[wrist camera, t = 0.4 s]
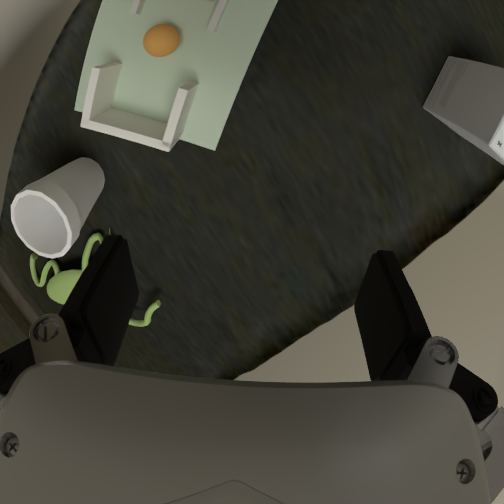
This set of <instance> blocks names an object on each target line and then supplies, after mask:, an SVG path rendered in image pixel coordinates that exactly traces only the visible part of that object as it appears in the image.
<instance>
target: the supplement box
mask: <svg viewBox="0 0 504 504" xmlns="http://www.w3.org/2000/svg"><path fill="white" fill-rule="evenodd" d="M423 108H424V109H425V110H427V111H428V112H429V113H431V114H432V115H434V116H435V117H436V118H438V119H439V120H440V121H442V122H443V123H444V124H446V125H447V126H448V127H450V128H451V129H452V130H454V131H455V132H456V133H457V134H459V135H460V136H462V137H463V138H465V139H466V140H468V141H469V142H471V143H472V144H474V145H475V146H477V147H478V148H480V149H481V150H483V151H484V152H486V153H487V154H489V155H490V156H491V157H493V158H494V159H496V160H497V161H498V162H500V163H501V164H502V165H504V68H501V67H497V66H493V65H489V64H485V63H481V62H477V61H472V60H468V59H463V58H458V57H453V56H448V58H447V60H446V62H445V64H444V66H443V68H442V70H441V72H440V74H439V76H438V78H437V80H436V82H435V84H434V86H433V88H432V90H431V92H430V93H429V95H428V97H427V99H426V101H425V103H424V105H423Z"/></svg>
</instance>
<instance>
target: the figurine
mask: <svg viewBox="0 0 504 504" xmlns="http://www.w3.org/2000/svg"><path fill="white" fill-rule="evenodd" d="M109 235H111V230H110V229H109ZM96 240H99V241H100V244H101V243H102V241H103V237H102V235H101V234H100V233H94V234H93V235H92V236H91V237H90V238H89V240H88V242H87V244H86V247H85V250H84V253H83V257H82V270H77V269H74V270H67V271H62V272H60V269H59V266H58V264H57V262H56V261H55V260H52V259H51V260H50V261H48V262H47V263H46V265H45V266H44V268H43V271H42V275H41V281H39V279H38V276H37V273H36V267H35V259H37V257H38V256H37V254H36V253H32V254H31V256H30V268H31V274H32V278H33V280H34V282H35V284H36V285H37V286H39V287H42V286H43V285H44V284H45V281H46V277H47V273H48V271H49V269H50V267H51V266H52V267H53V269H54V272H55V275H54V276H53V277H52V278H51V279H50V280H49V283H48V285H47V293H48V295H49V297H50V298H51V299H53V300H54V301H56V302H58V303H61V304H65V302H66V300H67V298H68V297H69V295H70V293H71V291H72V290H73V288H74V286H75V284H76V283H77V281H78V279H79V277H80V276H81V274H82V272H83V271H84V269H85V268H86V267H87V265H88V260H89V256H90V252H91V249H92V246H93V244H94V242H95V241H96ZM160 306H161V303H160V301H159V300H157V301H155V302H154V303H153V304H151V305H150V306H149V308H148V309H147V311H146V314H145V319H144V320H134V319H132V318H130V321H129V324H130V325H133V326H146V325H148V324H149V323H150V321H151V316H152V313H153V312H154V311H155V310H156V309H157V308H158V307H160Z"/></svg>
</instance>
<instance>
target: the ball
mask: <svg viewBox="0 0 504 504" xmlns="http://www.w3.org/2000/svg"><path fill="white" fill-rule="evenodd" d="M179 41H180V37H179V33H178V31H177V30H176V29H175V28H174V27H173V26H171V25H168V24H158V25H155V26H153V27H151V28H150V29H149V30H148V31H147V32H146V34H145V35H144V38H143V46H144V48H145V50H146V51H147V53H149V54H150V55H152V56H155V57H164V56H167V55H170V54H171V53H173V52H174V51H175V50H176V48H177V47H178V45H179Z"/></svg>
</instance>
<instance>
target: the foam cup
mask: <svg viewBox="0 0 504 504" xmlns="http://www.w3.org/2000/svg"><path fill="white" fill-rule="evenodd" d="M104 182H105V177H104V173H103V170H102V169H101V167H100V166H99V164H98V163H97V162H95V161H94V160H92V159H91V158H85V157H81V158H79V159H76V160H74V161H72V162H70V163H68V164H66V165H65V166H63V167H61V168H59V169H57V170H56V171H54V172H52V173H50V174H48V175H47V176H45V177H43V178H42V179H40V180H37V181H35V182H33V183H31V184H29V185H27V186H26V187H25V188H24V189H22V190H21V191H20V192H19V193H18V194H17V195H16V197H15V199H14V201H13V203H12V205H11V220H12V223H13V225H14V228H15V230H16V233H17V235H18V236H19V237H20V239H21V240H22V241H23V242H24V244H25V245H26V246H27V247H28V248H30V249H31V250H33V251H34V252H35V253H37V254H38V255H41V256H44V257H48V258H52V259H53V258H57V257H61V256H64V255H65V253H66V252H67V251H68V250H69V249H70V247H71V246H72V245H73V243H74V242H75V241H76V239H77V238H78V236H79V233H80V230H81V228H82V226H83V224H84V222H85V220H86V218H87V216H88V214H89V213H90V211H91V209H92V207H93V205H94V204H95V202H96V200H97V198H98V196H99V195H100V193H101V191H102V189H103V187H104Z"/></svg>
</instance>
